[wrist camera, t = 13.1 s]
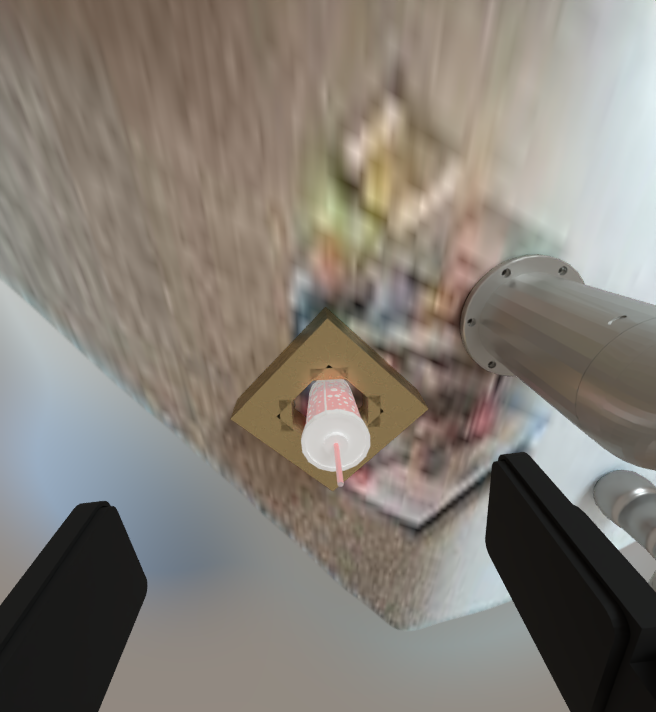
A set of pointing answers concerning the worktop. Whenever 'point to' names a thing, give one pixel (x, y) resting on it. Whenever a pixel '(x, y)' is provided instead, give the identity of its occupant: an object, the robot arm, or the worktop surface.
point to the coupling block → (326, 362)
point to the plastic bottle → (629, 505)
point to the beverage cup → (334, 428)
